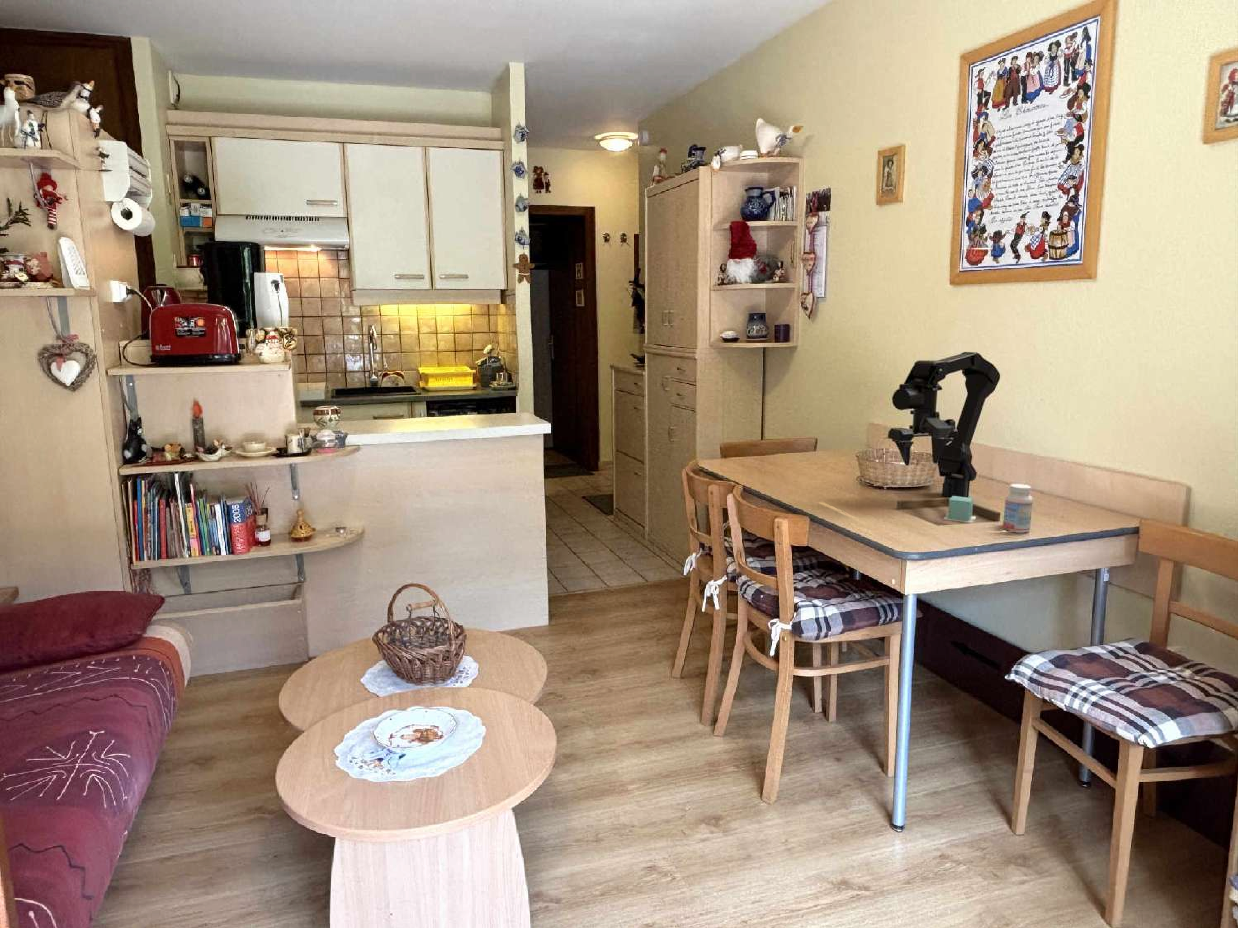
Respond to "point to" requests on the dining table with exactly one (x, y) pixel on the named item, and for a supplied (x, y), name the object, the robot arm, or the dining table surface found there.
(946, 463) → the robot arm
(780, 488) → the dining table surface
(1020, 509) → the pill bottle
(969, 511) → the teal block
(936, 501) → the arena
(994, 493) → the dining table surface
